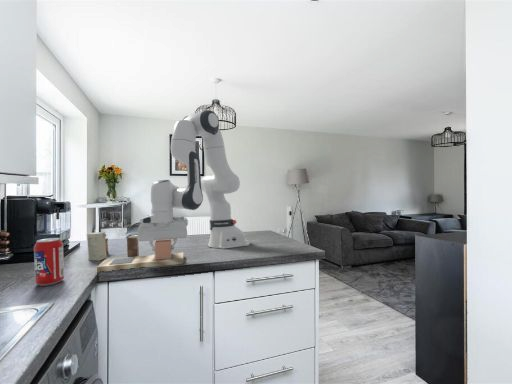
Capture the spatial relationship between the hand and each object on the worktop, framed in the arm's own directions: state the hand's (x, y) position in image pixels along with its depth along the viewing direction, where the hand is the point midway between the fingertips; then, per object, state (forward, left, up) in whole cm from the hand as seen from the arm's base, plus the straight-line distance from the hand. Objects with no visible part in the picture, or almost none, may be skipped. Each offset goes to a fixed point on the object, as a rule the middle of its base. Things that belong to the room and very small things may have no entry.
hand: (163, 249), depth 114 cm
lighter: (+32, -26, -5) cm, 42 cm away
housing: (0, 0, -3) cm, 3 cm away
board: (+8, 0, -5) cm, 9 cm away
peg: (+14, -11, -5) cm, 19 cm away
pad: (+16, 0, -3) cm, 16 cm away
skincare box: (+30, -16, -5) cm, 34 cm away
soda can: (+36, +14, -5) cm, 39 cm away
